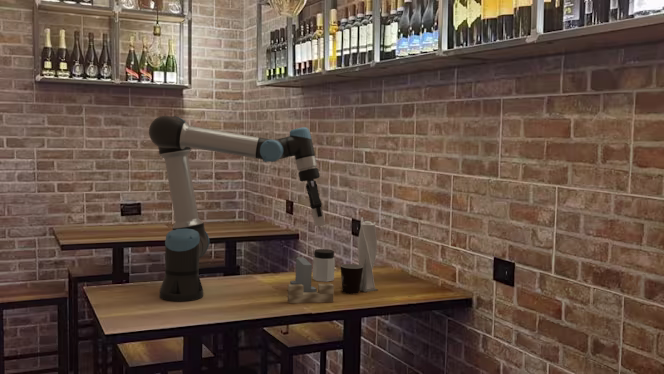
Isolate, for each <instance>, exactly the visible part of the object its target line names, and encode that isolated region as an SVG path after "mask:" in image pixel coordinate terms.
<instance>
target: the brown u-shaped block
mask: <svg viewBox="0 0 664 374" xmlns="http://www.w3.org/2000/svg"><path fill="white" fill-rule="evenodd" d="M317 284H318V286H317V291H316V292H303V291H304V286H303V285H302V284H290V283H289V284H287V302H288V303H289V304H312V303H313V304H314V303H333V302H334V294H335V293H334V292H335V291H334V289H335V285H334V284H333V283H317Z"/></svg>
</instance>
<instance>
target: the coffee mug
mask: <svg viewBox="0 0 664 374" xmlns="http://www.w3.org/2000/svg"><path fill="white" fill-rule="evenodd" d="M362 271H363V266H362V265H359V264H356V263H355V264H354V263H343V264H341V265H340V275H341V277H340V278H341V288H342V289H341V290H342V293H343V294H346V295H357V294H359V293H360V291H359V290H360V284H361V277H362Z"/></svg>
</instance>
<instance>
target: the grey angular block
mask: <svg viewBox="0 0 664 374" xmlns="http://www.w3.org/2000/svg"><path fill="white" fill-rule="evenodd" d="M294 279H295V280H290V283H289V285H290V284H302V285H303V286H304V291H303V292H317V288H316V287H315V286H312V279H313V264H312V263H311V262H309V261H308V260H307V259H306V258H305V257H296V258H295V278H294Z"/></svg>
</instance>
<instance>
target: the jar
mask: <svg viewBox="0 0 664 374" xmlns="http://www.w3.org/2000/svg"><path fill="white" fill-rule="evenodd" d="M313 255H314V256H313V257H312V258H313V259H312V279H313V280H314V281H315V282H322V283H323V282H324V283H325V282H326V283H328V282H332V281H334V280H335V263H336V258H335V251H334V250H333V249H328V248H319V249H314V252H313Z"/></svg>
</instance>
